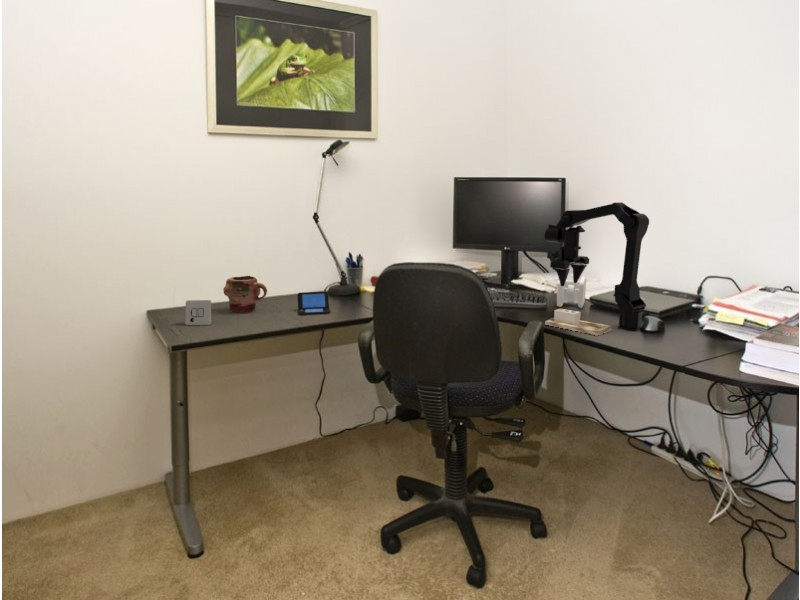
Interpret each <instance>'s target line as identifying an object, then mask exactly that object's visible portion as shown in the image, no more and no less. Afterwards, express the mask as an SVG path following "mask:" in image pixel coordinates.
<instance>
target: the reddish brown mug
mask: <svg viewBox="0 0 800 600" xmlns="http://www.w3.org/2000/svg"><path fill="white" fill-rule="evenodd" d="M222 289H223V294H224V296H226V297H227V298H228V300H229V303H228V306H229V311H230V312H231V313H235V314H248V313H251V312H254V311H255V309H256V304H257V303H259V302H260V301H262V300H263V299H264V298H266V296H267V294H268V293H267V292H268V289H267V287H266V285H265V284H264V283H261V282H258V279H257V278H256V277H255V276H251V275H244V276H243V275H242V276H233V277H230V278H227V279H226V281H225V286H224V287H223V288H222ZM261 289H262V292H263V294H262V296H260V295H261ZM259 296H260V297H259Z"/></svg>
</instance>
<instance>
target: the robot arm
mask: <svg viewBox="0 0 800 600" xmlns="http://www.w3.org/2000/svg"><path fill="white" fill-rule="evenodd" d="M561 216H562V217H561V218H560V219H559V221H558V222H557V224H555V223H554V224H553V223H552V224H550V223H549V224H548V226H547V228H546V229H545V232H544V239H545V240H546V242H549V243H559V244H561V243H562V245H560V247H559V250H555V249H550V250H547V253H546V255H547V256H546V258H547V259H548V260H549V262H550V263H549V264H550V265H549V268H550V269H552V270H554V271H555V273H557V276H558V277H557V278H558V280H559V281H560V284H561V286H564V285H565V282H566V280H568V275H569V273H570V267H571V268H572V280H573V281H574V283H577V281H579V279H581V276H582V274H583V272H584V271H585V269H586V267H588V265H589V264H590V258H589V257H588V256H585V255H579V251H580V250H582V246H580V233H585V232H586V230H585V229H584V228H583V226H582V225H583V224H585V223H587V222H588V221H590V220H594V219H599V218H604V217H608V216H614V217H615V218H616V219H617V221H618V222H619V223H621V224H622V225H623V234H624V237H625V238H626V244H625V252H624V260H623V269H622V270H623V271H622V277H621V281H620V283H618V284H615V285H614V293H613V297H614V301H615V303H616V305H617V308H618V311H619V312H620V313H619V314H618V315H619V317H618V318H619V319H618V326H617V328H619V329H624V330H630V331H635V332H636V331H639V330H640V328H641V326H642V322H643V321H642V320H643V311H645V309H646V308H647V304H646V302H645V301H644V300H643V299H642V298H641V292H640V286H639V284H638V273H639V265H640V259H641V258H640V256H641V248H642V241H643V239H644V237H645V235H646V234H647V231H648V228H649V225H650V218H649V217H648V216H647V215H646V214H644V213H640V212H639V211H637V210H636V209H634V208H633V207H630V206H628V205H627V204H625V203H624V202H619V201H618V202H617V201H616V202H613V203H611V204H610V203H609V204H606V205H601V206H597V207H593V208H587V209H571V210H565V211H564V212H563V213H562V215H561ZM574 226H576V227H574ZM641 329H642V328H641Z"/></svg>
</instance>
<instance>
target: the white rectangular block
mask: <svg viewBox="0 0 800 600" xmlns="http://www.w3.org/2000/svg"><path fill="white" fill-rule="evenodd" d="M581 314H582V313H581V311H578V310H571V309H564V308H562V307H559V308H557V309H554V317H553V318H554V321H556V322H561V323H566V324H570V325H573V326H580V320H581V316H582V315H581Z"/></svg>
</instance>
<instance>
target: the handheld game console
mask: <svg viewBox="0 0 800 600" xmlns="http://www.w3.org/2000/svg"><path fill="white" fill-rule="evenodd" d="M297 311H298V315H299V316H317V315H318V316H319V315H330V314H331V310H330V303H329V292H327V291H312V292H311V291H310V292H307V291H306V292H298V293H297Z"/></svg>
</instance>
